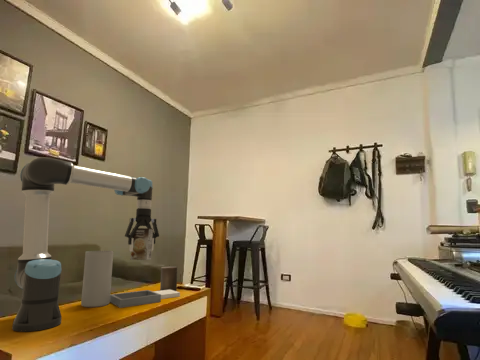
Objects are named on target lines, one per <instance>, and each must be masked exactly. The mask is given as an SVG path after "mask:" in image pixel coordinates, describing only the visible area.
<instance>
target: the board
mask: <svg viewBox="0 0 480 360" xmlns="http://www.w3.org/2000/svg"><path fill="white" fill-rule="evenodd" d="M152 292H155V293H158V294H161V300H163V299H170V298H178V297H181V292H180V291H177V290H176V291H173V290H161V291H160V290H156V291H153V290H152Z"/></svg>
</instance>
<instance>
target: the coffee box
mask: <svg viewBox="0 0 480 360" xmlns="http://www.w3.org/2000/svg"><path fill="white" fill-rule="evenodd" d="M151 228H152V227H151ZM151 228H147V227H146V228H145V227H142V228H141V227H139V228H138V229H137V231H136V232H135V234H134V235H133V237H132V238H134V239H133V251H130V258H129V259H130V260H131V261H148V260H152V252H153V251H152V237H153V232H154V229H153V228H152V229H151ZM133 229H134V227H132V230H133Z"/></svg>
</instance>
